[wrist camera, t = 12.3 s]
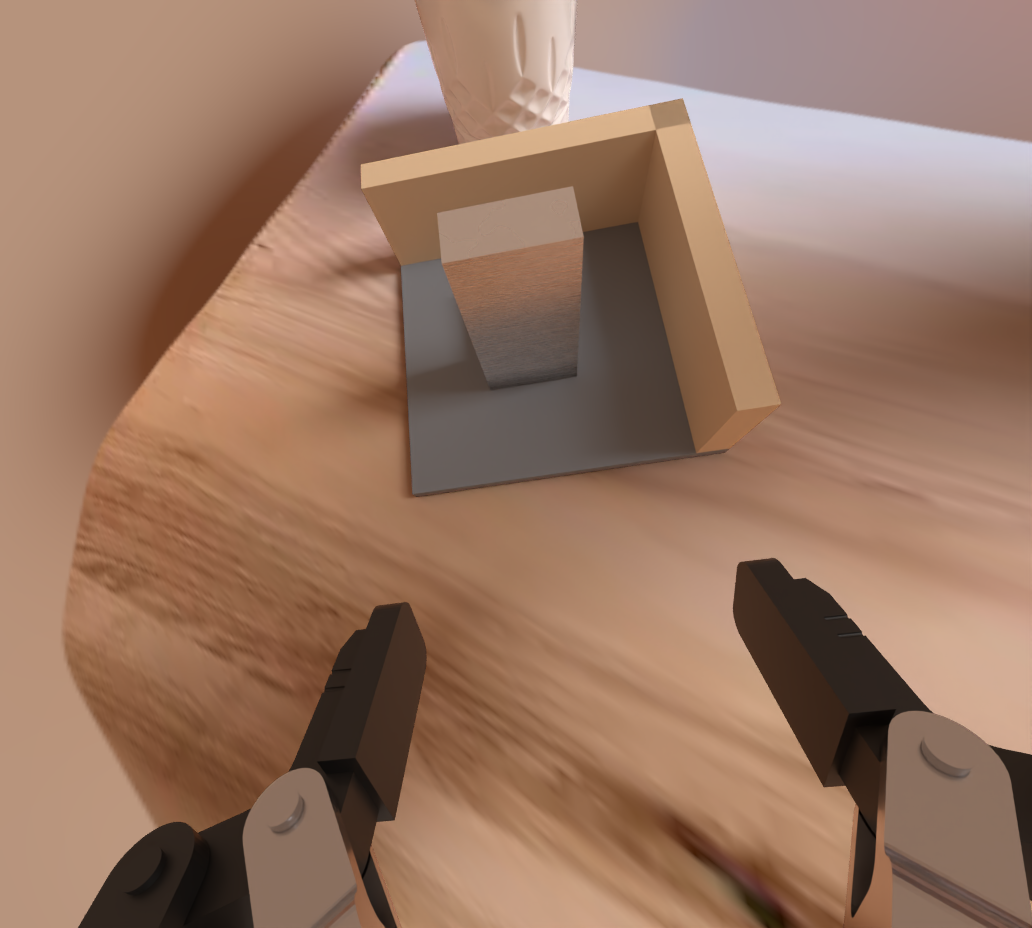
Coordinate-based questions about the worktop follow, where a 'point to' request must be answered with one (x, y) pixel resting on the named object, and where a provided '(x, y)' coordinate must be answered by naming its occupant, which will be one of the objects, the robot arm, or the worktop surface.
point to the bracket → (518, 284)
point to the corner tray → (603, 309)
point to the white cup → (501, 62)
